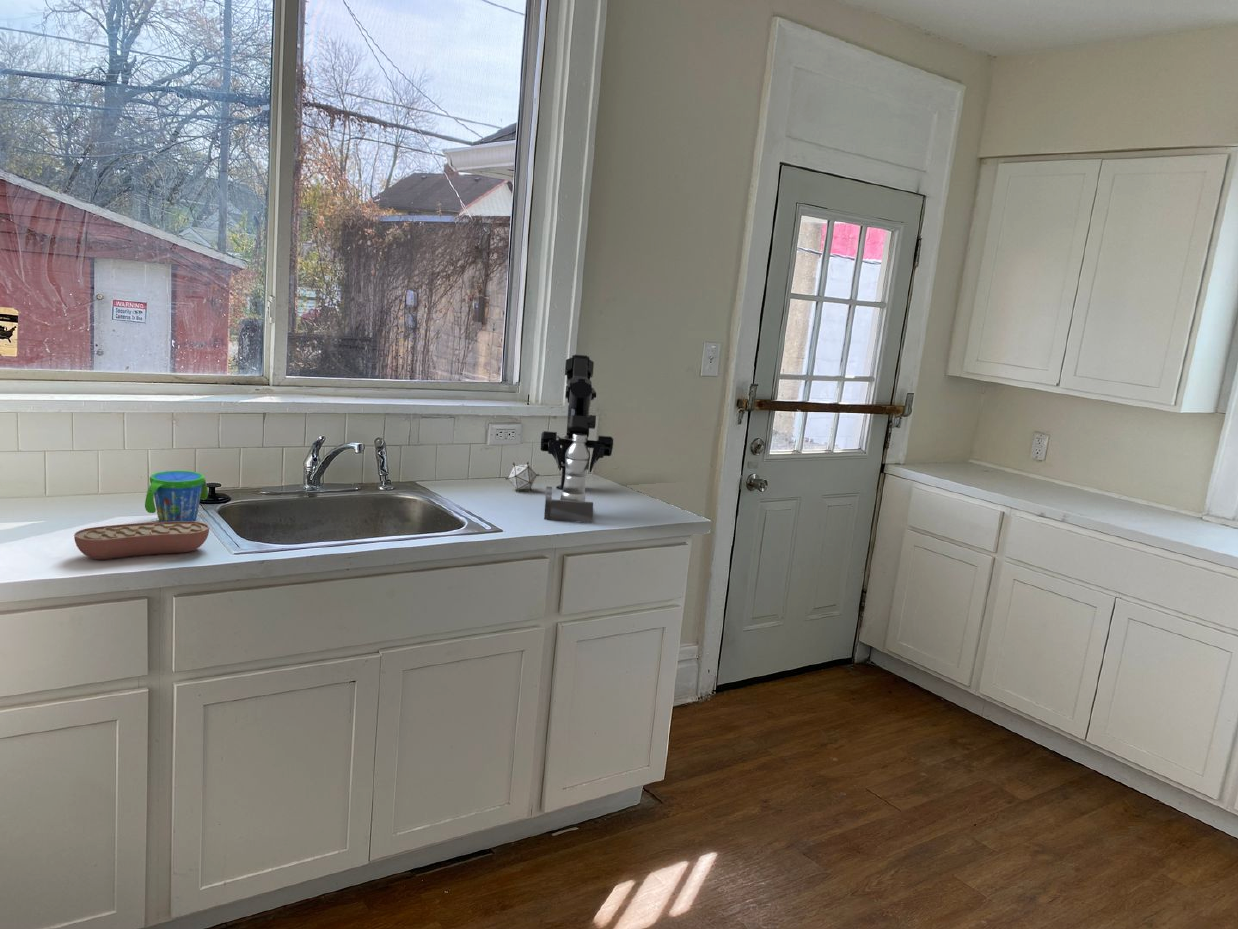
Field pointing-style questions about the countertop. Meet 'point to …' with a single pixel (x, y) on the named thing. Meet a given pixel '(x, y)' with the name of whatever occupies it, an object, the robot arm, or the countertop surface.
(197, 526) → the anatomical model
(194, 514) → the snack cup
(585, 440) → the plastic bottle
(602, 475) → the countertop surface
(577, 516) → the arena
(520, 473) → the game die
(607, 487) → the countertop surface
